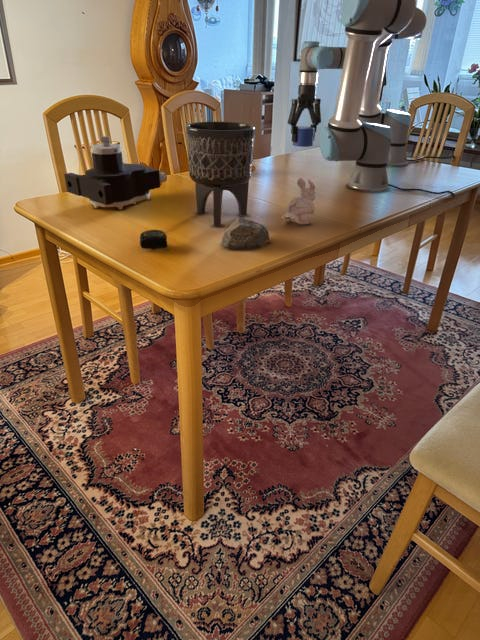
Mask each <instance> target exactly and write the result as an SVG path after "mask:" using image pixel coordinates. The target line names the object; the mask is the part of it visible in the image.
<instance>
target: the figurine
mask: <svg viewBox="0 0 480 640" xmlns="http://www.w3.org/2000/svg"><path fill="white" fill-rule="evenodd" d="M296 184H297V186H298V188H299V189H300V196H296V197H294V198H292V199H291V200H290V202H289V204H288V205H287V207H286V212H285V213H284V214H283V215H282V217H281V220H282V221H284V220H285V221H286V222H292V223H295V224H296V223H297V224H298V225H309V220H310V217H311V215H312V216H313V215H314V214H315V210H316V207H315V203H314V201H315V200H316V191H315V189H316V186H315V183H314V182H313V181H311V179H308V184H309V187H306V180H304V179H303V178H302V177H299V178H298V179H297V183H296Z"/></svg>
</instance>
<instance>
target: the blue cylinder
mask: <svg viewBox="0 0 480 640" xmlns="http://www.w3.org/2000/svg"><path fill="white" fill-rule="evenodd" d="M297 126H298V130H297V142H292V146H294V147H299V148H300V147H301V148H307V147H308V148H309V147H314V141H313V137H314V128H313V127H310V126H305V125H303V126H302V125H301V126H299V125H297Z"/></svg>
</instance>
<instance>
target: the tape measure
mask: <svg viewBox="0 0 480 640" xmlns="http://www.w3.org/2000/svg"><path fill="white" fill-rule="evenodd" d="M167 236H168V235H167V234H166V232H165V231H164V230H161V229H147V230H144V231H143V232H141V233H140V235H139V240H140V241H139V245H140V246H139V247H141V248H142V249H146V250H157V249H167V248H168V240H167V239H168V237H167Z"/></svg>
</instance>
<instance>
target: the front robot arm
mask: <svg viewBox="0 0 480 640" xmlns="http://www.w3.org/2000/svg"><path fill="white" fill-rule="evenodd" d="M416 7H417V0H342V3H341V8H340V22H341V24H342V25H343V26H344V34H345V35H346V37H347V42H346V46H327V45H321V42H320V41H319V40H317V41H314V40H304V41H303V42H302V43H301V48H300V49H301V50H300V62H299V76H298V83H299V85H298V91H297V94H298V96H297V98H292V99H291V107H290V111H289V115H288V119H287V124H288V125H290V134H291V142H292V143H293V142H297V130H298V126H299V125H298V123H299V120H300V118H301V115H302V113H303V112H304V111H305V110H306V109H307V110H308V113H309V117H310V120H311V124H310V126H309V127H313V128H314V137H313V142H315V137H316V133H317V129H318V126H319V124H321V123H322V114H321V112H322V111H321V100H322V99H321V98H318V97H317V98H316V95H317V85H316V84H318V77H319V70H341V76H340V81H339V87H338V91H337V92H338V93H337V97H336V102H335V108H334V114H333V115H332V117H331V118H330V119H328V124H327V126H324V127H322V128H321V130H320V133H319V139H318V140H319V149H320V153H321V156H322V157H323V159H324V160H325V161H328V162H350V161H351V162H352V161H354V162H355V164H354V165H355V166H354V167H353V171H351V174H350V171H349V173H348V174H349V175H350V176H349V179H348V182H347V187H348V188H349V189H351V190H354V191H358V192H363V193H364V192H365V193H382V192H386V191H388V189H389V187H390V188H394V189H396V190H399V191H405V192H406V191H419V192H424V193H428V194H432V195H442V194H451V196H455V193H454V192H453V191H451V190H443V191H433V190H432V191H431V190H427V189H422V188H417V187H416V188H413V187H412V188H403V187H399V186H397V185H394V184H390V183H389V178H388V173H387V172H388V171H387V167H388V166H387V162H388V156H389V151H390V145H391V141H392V129H391V128H390V127H388V126H384V125H379V124H374V123H367V122H362V124H361V123H360V121H359V120H358V117H359V113H360V108H361V103H362V99H363V94H364V90H365V85H366V80H367V76H368V71H369V67H370V62H371V57H372V53H373V50H374V49H376V48H377V47H378V46H379V45H380V44H382V43H383V42H384V41H385V40H386V39H387V38H389V37H390V36H391V35H392V34H398V33H399V32H401V31H402V30H403V29H404V28H405V27H406V26H407V25H408V24H409V23H410V22H411V20H412V18H413V16H414V13H415V9H416Z"/></svg>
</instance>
